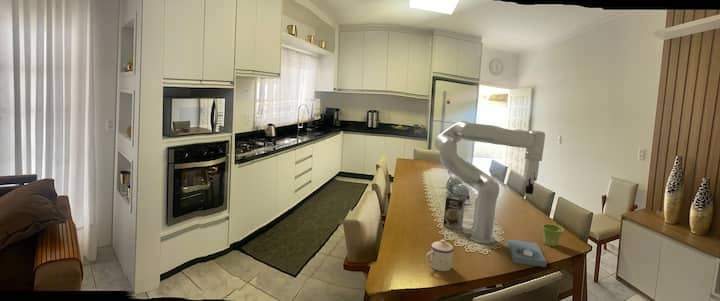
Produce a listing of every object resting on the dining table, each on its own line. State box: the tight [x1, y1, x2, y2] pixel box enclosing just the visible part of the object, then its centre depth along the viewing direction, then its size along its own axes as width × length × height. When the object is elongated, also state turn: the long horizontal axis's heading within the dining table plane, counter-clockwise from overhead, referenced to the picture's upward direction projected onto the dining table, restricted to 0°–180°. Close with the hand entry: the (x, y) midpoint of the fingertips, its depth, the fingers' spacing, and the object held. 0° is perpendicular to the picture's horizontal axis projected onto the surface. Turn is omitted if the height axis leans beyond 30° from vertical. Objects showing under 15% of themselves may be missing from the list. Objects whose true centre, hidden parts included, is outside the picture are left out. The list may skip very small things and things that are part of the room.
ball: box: [522, 250, 533, 257], centre depth 168 cm, size 4×4×4 cm
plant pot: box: [541, 223, 565, 247], centre depth 186 cm, size 9×9×9 cm
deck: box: [507, 238, 548, 268], centre depth 173 cm, size 20×13×2 cm, turn 167°
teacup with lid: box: [425, 239, 454, 272], centre depth 156 cm, size 12×9×12 cm
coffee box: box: [442, 194, 466, 231], centre depth 202 cm, size 9×6×16 cm
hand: (528, 193), depth 185 cm, fingers closed
